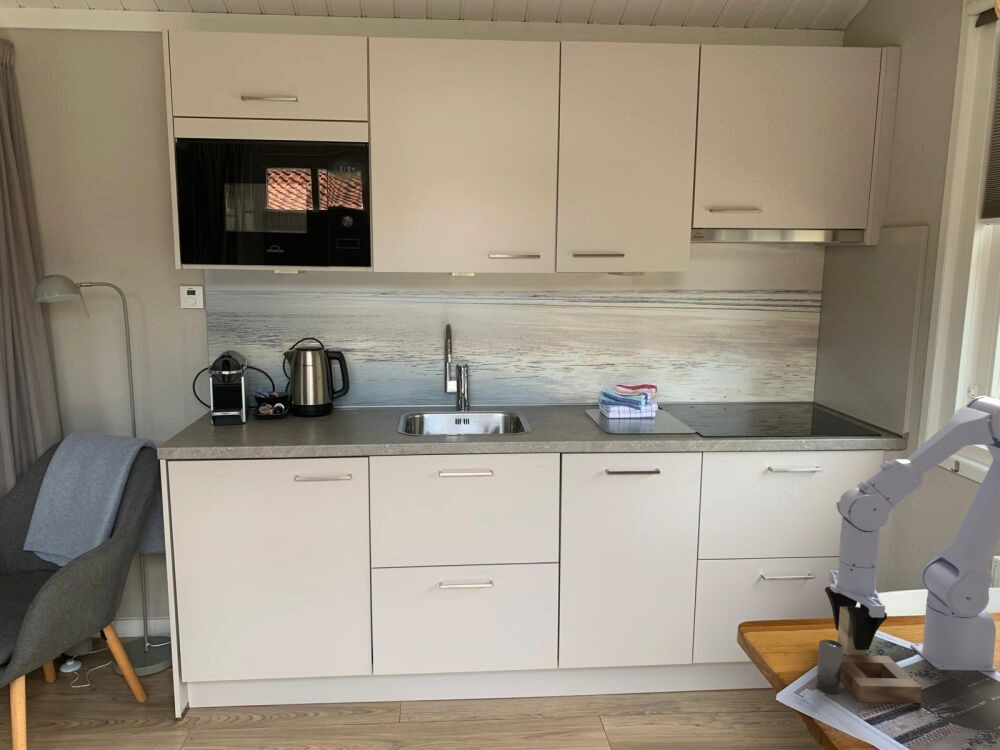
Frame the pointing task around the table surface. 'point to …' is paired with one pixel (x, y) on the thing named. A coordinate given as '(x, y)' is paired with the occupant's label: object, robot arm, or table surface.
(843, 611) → the square bit
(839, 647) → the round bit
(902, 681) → the bore block
